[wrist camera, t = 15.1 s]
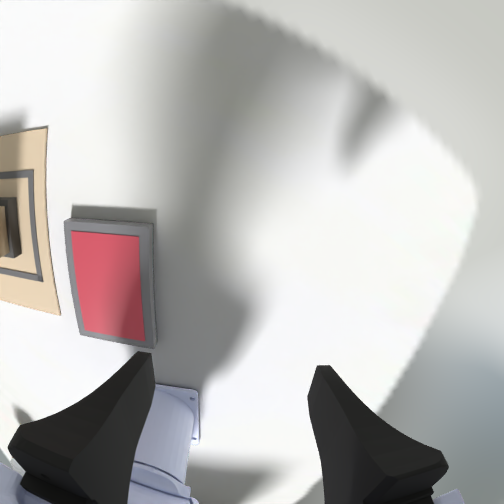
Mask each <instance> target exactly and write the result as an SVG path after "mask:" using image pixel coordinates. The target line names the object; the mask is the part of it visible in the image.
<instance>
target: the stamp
mask: <svg viewBox="0 0 504 504" xmlns="http://www.w3.org/2000/svg"><path fill="white" fill-rule="evenodd" d="M21 254H22V250H21V243H20V234H19V225H18V213H17V197H0V258H1V257H8V258H16V257H17V256H19V255H21Z"/></svg>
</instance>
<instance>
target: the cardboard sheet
mask: <svg viewBox="0 0 504 504" xmlns="http://www.w3.org/2000/svg"><path fill="white" fill-rule="evenodd" d="M46 143H47V128H46V129H38V130H32V131H25V132H19V133H14V134H8V135H3V136H0V197H17V213H18V225H19V234H20V243H21V250H22V254H21V255H19V256H17V257H16V258H8V257H1V258H0V300H2V301H5V302H9V303H12V304H16V305H20V306H23V307H27V308H31V309H35V310H38V311H42V312H47V313H51V314H55V315H59V316H60V315H61V313H60V308H59V303H58V298H57V293H56V288H55V282H54V276H53V269H52V262H51V255H50V246H49V237H48V225H47V210H46Z"/></svg>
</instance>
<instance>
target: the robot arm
mask: <svg viewBox="0 0 504 504" xmlns="http://www.w3.org/2000/svg"><path fill="white" fill-rule="evenodd" d="M192 397H193V398H192ZM307 397H308V407H309V415H310V420H311V424H312V428H313V431H314V435H315V439H316V443H317V447H318V451H319V455H320V460H321V466H322V475H323V485H324V497H325V504H465V503H464V500H463V498H462V496H461V494H460V492H459V489H455V490H452V491H450V492H448V493H446V494H444V495H441V496H439V497H437V498H435V499H434V500H432V498H431V495H432V494H433V493H434V491H433V489H432V486H433V485H434V484H435V483H436V482H437V481H438V480H440V479H441V478H442V477H443V476H444V474H445V473H446V472H447V470H448V468H449V466H448V464H447V462H446V460H445V458H444V456H443V454H442V452H441V451H440V450H437V449H434V448H432V447H429V446H427V445H424V444H422V443H420V442H418V441H416V440H413V439H412V438H410V437H408V436H406V435H404V434H403V433H401V432H399V431H398V430H396V429H395V428H393V427H392V426H390V425H389V424H387V423H386V422H385V421H384V420H382V419H381V418H380V417H378V416H377V415H376V414H375V413H374V412H373V411H371V410H370V409H369V408H368V407H367V406H366V405H365V404H364V403H363V402H362V401H361V400H360V399H359V398H358V397H357V396H356V395H355V394H354V393H353V392H352V390H351V389H350V388H349V387H348V386H347V385H346V384H345V382H344V381H343V380H342V379H341V378H340V377H339V375H338V374H337V373H336V372H335V371H334V369H333V368H332V367H331V366H330V365H319V366H317V367H316V370H315V374H314V377H313V380H312V384H311V387H310V390H309V393H308V396H307ZM198 444H199V413H198V392H197V391H196V390H193V389H185V388H178V387H171V386H164V385H158V384H155V378H154V371H153V364H152V356H151V353H145V352H139V351H138V352H137V353H136V354H134V355H133V356H132V357H131V358H130V359H129V360H128V361H127V362H126V363H125V364H124V365H123V366H122V367H121V368H120V369H119V370H118V371H117V372H116V373H115V374H114V375H113V376H111V377H110V378H109V379H108V380H107V381H106V382H105V383H103V384H102V385H101V386H100V387H98V388H97V389H96V390H95V391H93V392H92V393H91V394H89V395H88V396H86V397H85V398H83V399H82V400H80V401H79V402H77V403H75V404H74V405H72V406H70V407H68V408H66V409H64V410H62V411H60V412H58V413H56V414H53V415H51V416H48V417H46V418H43V419H40V420H37V421H34V422H30V423H27V424H23V425H20V426H19V428H18V429H17V431H16V433H15V434H14V436H13V438H12V440H11V441H10V443H9V445H8V450H9V452H10V454H11V455H12V457H13V458H14V459H15V460H16V461H17V463H18V464H19V465H20V466H21V467H22V468H23V469H24V470H25V474H24V476H22V475H21V474H19V473H18V472H16V471H15V470H13V469H11V468H10V467H8V466H6V465H4V464H3V463H1V462H0V504H199V502H198V501H197V499H195V498H193V497H190V492H191V487H189V486H186V485H185V478H186V471H187V464H188V457H189V450H190V445H198Z"/></svg>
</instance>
